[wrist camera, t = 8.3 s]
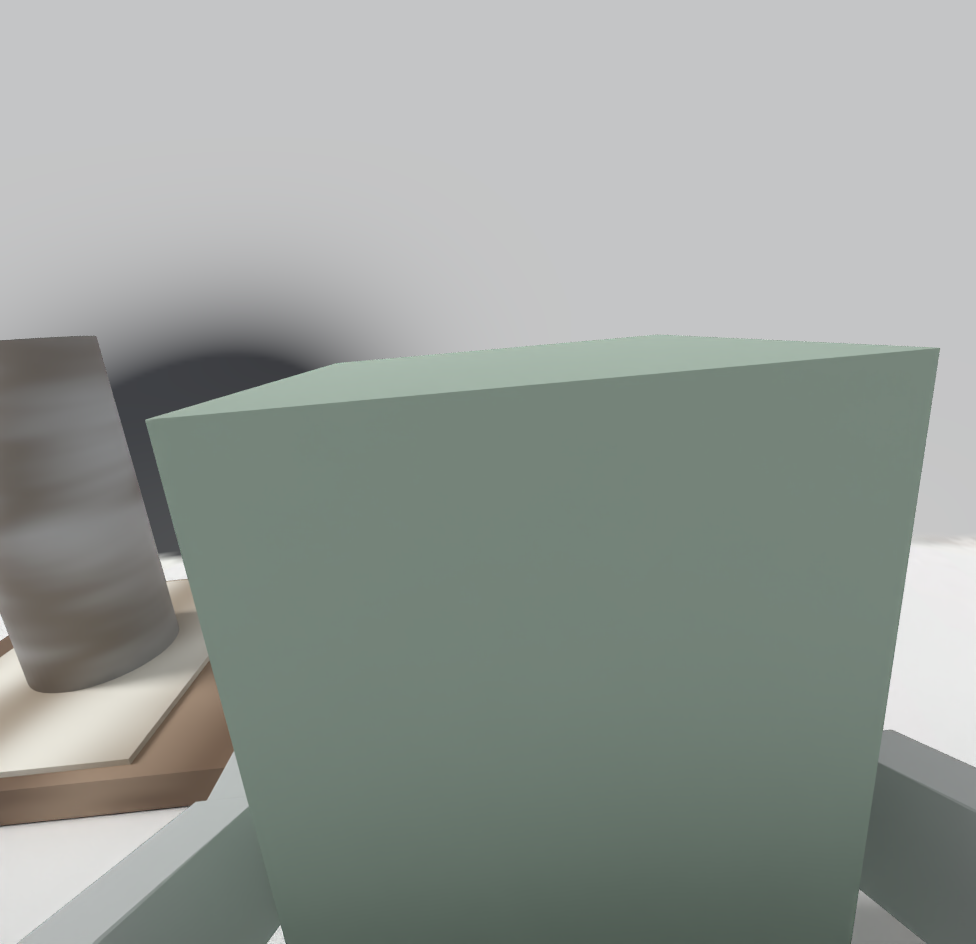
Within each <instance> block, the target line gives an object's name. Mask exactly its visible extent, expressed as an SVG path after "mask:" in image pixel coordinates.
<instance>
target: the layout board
mask: <svg viewBox="0 0 976 944" xmlns="http://www.w3.org/2000/svg"><path fill="white" fill-rule="evenodd" d="M0 614H1V616H2V619H3V621H4V624H5V627H6V629H7V632H8V634H9V635H8V636H7V637H6V638H4V639H3V640H1V641H0V826H1V825H11V824H20V823H30V822H39V821H49V820H58V819H68V818H77V817H87V816H96V815H105V814H115V813H124V812H134V811H143V810H153V809H162V808H172V807H181V806H191V805H192V804H193V803H195V802H199V801H207V799H208V797H209V796H210V794H211V792H212V790H213V788H214V786H215V785H216V783H217V781H218V779H219V777H220V775H221V774H222V772H223V770H224V768H225V766H226V764H227V763H228V761H229V759H230V757H231V755H232V754H233V752H234V749H233V745H232V741H231V738H230V734H229V730H228V726H227V723H226V719H225V715H224V712H223V708H222V704H221V700H220V697H219V693H218V689H217V685H216V682H215V678H214V674H213V671H212V667H211V663H210V659H209V656H208V652H207V648H206V644H205V641H204V637H203V633H202V630H201V626H200V622H199V618H198V615H197V611H196V607H195V604H194V600H193V596H192V592H191V589H190V585H189V581H188V579H183V580H173V581H166V580H165V576H164V573H163V569H162V566H161V562H160V559H159V555H158V552H157V548H156V545H155V541H154V538H153V534H152V530H151V527H150V524H149V520H148V516H147V513H146V509H145V506H144V503H143V499H142V496H141V492H140V488H139V485H138V481H137V478H136V474H135V471H134V467H133V464H132V460H131V457H130V453H129V450H128V446H127V443H126V439H125V435H124V432H123V429H122V425H121V421H120V418H119V415H118V411H117V407H116V404H115V400H114V397H113V393H112V390H111V387H110V383H109V380H108V376H107V372H106V369H105V366H104V362H103V358H102V355H101V351H100V348H99V344H98V341H97V337H96V336H70V337H50V338H31V339H15V340H0Z"/></svg>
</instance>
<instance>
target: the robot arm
mask: <svg viewBox="0 0 976 944" xmlns="http://www.w3.org/2000/svg"><path fill="white" fill-rule="evenodd" d="M859 889H860V890H861V891H863V892H864V893H865V894H866V895H867V896H869V897H870V898H871V899H872V900H874V901H875V902H876V903H877V904H879V905H880V906H881V907H882V908H884V909H885V910H886V911H887V912H888V913H890V914H891V915H892V916H893V917H895V918H896V919H897V920H898V921H900V922H901V923H902V924H903V925H905V926H906V927H907V928H908V929H910V930H911V931H912V932H913V933H914V934H916V935H917V936H918V937H919V938H921V939H922V940H923V941H924V942H926V943H927V944H976V768H975V767H973V766H971V765H969V764H966V763H964V762H962V761H960V760H958V759H955V758H953V757H951V756H949V755H947V754H944V753H942V752H940V751H938V750H936V749H933V748H931V747H929V746H927V745H924V744H922V743H920V742H918V741H916V740H913V739H911V738H909V737H907V736H905V735H902V734H900V733H898V732H896V731H893V730H883V732H882V739H881V746H880V752H879V759H878V766H877V772H876V779H875V786H874V792H873V799H872V806H871V812H870V819H869V826H868V832H867V839H866V846H865V852H864V859H863V866H862V873H861V879H860V886H859ZM280 925H281V924H280V920H279V916H278V913H277V909H276V905H275V902H274V898H273V894H272V890H271V887H270V883H269V879H268V875H267V872H266V868H265V864H264V861H263V857H262V853H261V849H260V846H259V842H258V838H257V834H256V831H255V827H254V823H253V820H252V816H251V812H250V808H249V805H248V801H247V797H246V794H245V790H244V786H243V782H242V779H241V775H240V771H239V767H238V764H237V760H236V756H235V753H234V752H233V754H232V755H231V757H230V759H229V761H228V763H227V764H226V766H225V768H224V770H223V772H222V774H221V775H220V777H219V779H218V781H217V783H216V785H215V786H214V788H213V790H212V792H211V794H210V796H209V797H208V799H207V801H199V802H195V803H193V804H192V805H191V806H190V807H188V808H187V809H186V810H185V811H183V812H182V813H181V814H180V815H178V816H177V817H176V818H175V819H173V820H172V821H171V822H169V823H168V824H167V825H166V826H164V827H163V828H162V829H161V830H159V831H158V832H157V833H156V834H154V835H153V836H152V837H151V838H149V839H148V840H147V841H145V842H144V843H143V844H142V845H140V846H139V847H138V848H137V849H135V850H134V851H133V852H132V853H130V854H129V855H128V856H127V857H125V858H124V859H123V860H122V861H120V862H119V863H118V864H116V865H115V866H114V867H113V868H111V869H110V870H109V871H108V872H106V873H105V874H104V875H103V876H101V877H100V878H99V879H98V880H96V881H95V882H94V883H92V884H91V885H90V886H89V887H87V888H86V889H85V890H84V891H82V892H81V893H80V894H79V895H77V896H76V897H75V898H74V899H72V900H71V901H70V902H68V903H67V904H66V905H65V906H63V907H62V908H61V909H60V910H58V911H57V912H56V913H55V914H53V915H52V916H51V917H50V918H48V919H47V920H46V921H45V922H43V923H42V924H41V925H39V926H38V927H37V928H36V929H34V930H33V931H32V932H31V933H29V934H28V935H27V936H26V937H24V938H23V939H22V940H21V941H19V942H18V943H17V944H267V942H268V941H269V939H270V938H271V937H272V935H273V934H274V933H275V931H276V930H277V929H278V927H279V926H280Z"/></svg>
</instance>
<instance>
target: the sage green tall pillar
mask: <svg viewBox="0 0 976 944" xmlns="http://www.w3.org/2000/svg"><path fill="white" fill-rule="evenodd" d="M939 351H940V348H929V347H909V346H907V347H906V346H888V345H866V344H846V343H824V342H803V341H782V340H761V339H739V338H718V337H696V336H675V335H674V336H673V335H649V336H637V337H626V338H615V339H604V340H593V341H582V342H570V343H559V344H547V345H537V346H525V347H514V348H503V349H491V350H480V351H469V352H458V353H446V354H435V355H424V356H413V357H401V358H390V359H379V360H368V361H357V362H345V363H336V364H333V365H330V366H326V367H323V368H319V369H316V370H313V371H309V372H306V373H302V374H299V375H295V376H292V377H289V378H285V379H282V380H279V381H275V382H272V383H268V384H265V385H261V386H258V387H255V388H251V389H248V390H245V391H241V392H238V393H234V394H231V395H228V396H224V397H221V398H218V399H214V400H211V401H207V402H204V403H201V404H198V405H194V406H190V407H187V408H184V409H180V410H177V411H174V412H170V413H167V414H163V415H160V416H157V417H153V418H150V419H146V424H147V428H148V432H149V436H150V440H151V443H152V447H153V451H154V454H155V458H156V462H157V466H158V469H159V473H160V476H161V481H162V484H163V488H164V492H165V495H166V499H167V503H168V506H169V510H170V514H171V518H172V522H173V525H174V529H175V533H176V536H177V540H178V544H179V548H180V551H181V555H182V559H183V563H184V566H185V570H186V574H187V577H188V581H189V585H190V589H191V592H192V596H193V600H194V604H195V607H196V611H197V615H198V618H199V622H200V626H201V630H202V633H203V637H204V641H205V644H206V648H207V652H208V656H209V659H210V663H211V667H212V671H213V674H214V678H215V682H216V685H217V689H218V693H219V697H220V700H221V704H222V708H223V712H224V715H225V719H226V723H227V726H228V730H229V734H230V738H231V741H232V745H233V749H234V753H235V756H236V760H237V764H238V767H239V771H240V775H241V779H242V782H243V786H244V790H245V794H246V797H247V801H248V805H249V808H250V812H251V816H252V820H253V823H254V827H255V831H256V834H257V838H258V842H259V846H260V849H261V853H262V857H263V861H264V864H265V868H266V872H267V875H268V879H269V883H270V887H271V890H272V894H273V898H274V902H275V905H276V909H277V913H278V916H279V920H280V924H281V928H282V931H283V935H284V939H285V943H286V944H851V939H852V933H853V926H854V919H855V913H856V906H857V899H858V893H859V886H860V879H861V873H862V866H863V859H864V852H865V846H866V839H867V832H868V826H869V819H870V812H871V806H872V799H873V792H874V786H875V779H876V772H877V766H878V759H879V752H880V746H881V739H882V732H883V725H884V719H885V712H886V705H887V699H888V692H889V685H890V679H891V672H892V665H893V659H894V652H895V645H896V639H897V632H898V625H899V619H900V612H901V605H902V599H903V592H904V585H905V578H906V572H907V565H908V558H909V552H910V545H911V538H912V532H913V525H914V518H915V511H916V505H917V498H918V491H919V485H920V478H921V472H922V465H923V458H924V451H925V445H926V437H927V431H928V425H929V418H930V411H931V405H932V398H933V391H934V385H935V378H936V371H937V365H938V357H939Z"/></svg>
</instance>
